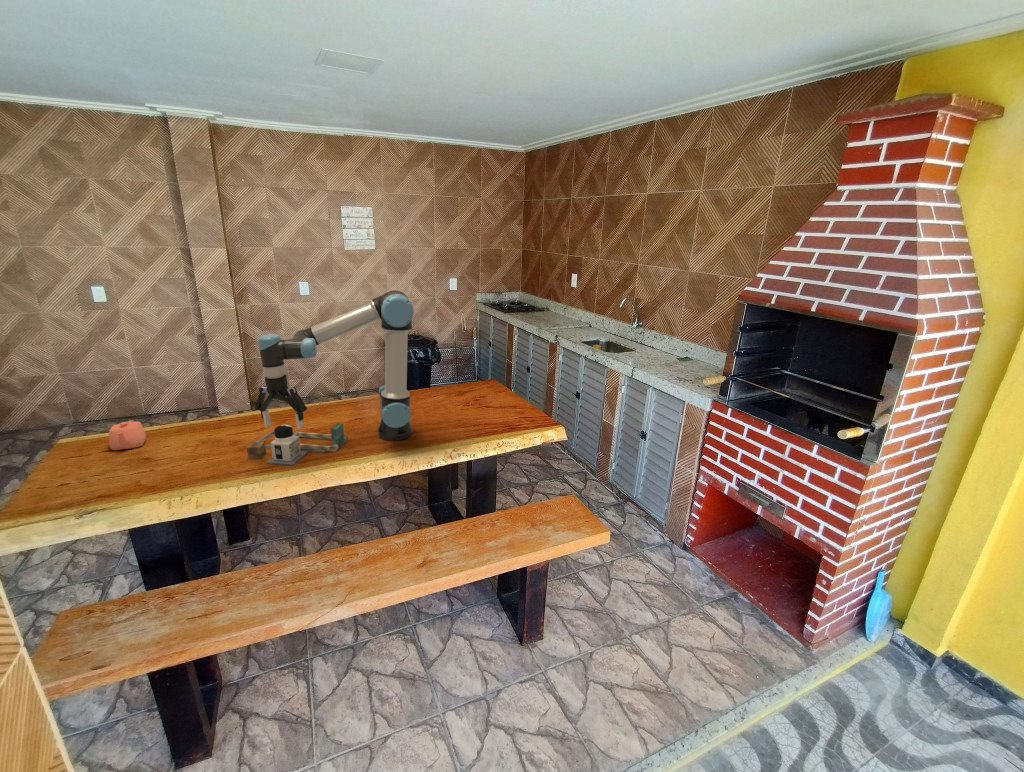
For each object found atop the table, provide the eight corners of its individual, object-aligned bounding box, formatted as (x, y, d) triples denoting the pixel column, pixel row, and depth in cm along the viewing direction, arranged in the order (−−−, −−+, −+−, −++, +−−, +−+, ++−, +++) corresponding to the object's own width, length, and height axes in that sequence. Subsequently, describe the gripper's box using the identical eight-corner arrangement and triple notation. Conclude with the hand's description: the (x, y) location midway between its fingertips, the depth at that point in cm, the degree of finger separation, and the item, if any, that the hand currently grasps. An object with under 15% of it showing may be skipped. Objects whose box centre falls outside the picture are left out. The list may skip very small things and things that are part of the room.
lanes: (339, 438, 216) (339, 435, 215) (324, 452, 203) (323, 450, 202) (272, 433, 220) (272, 430, 219) (252, 446, 206) (252, 444, 206)
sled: (347, 439, 214) (346, 420, 211) (335, 451, 203) (333, 431, 200) (297, 436, 217) (295, 417, 214) (282, 447, 206) (279, 427, 203)
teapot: (150, 435, 215) (144, 413, 212) (141, 452, 200) (135, 429, 196) (118, 440, 210) (111, 417, 207) (106, 458, 195) (99, 434, 192)
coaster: (307, 453, 202) (307, 451, 202) (292, 465, 192) (292, 464, 191) (282, 451, 203) (282, 449, 203) (266, 463, 193) (266, 462, 193)
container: (291, 461, 193) (286, 431, 189) (272, 460, 194) (268, 430, 190) (301, 452, 201) (297, 423, 196) (283, 451, 202) (279, 422, 197)
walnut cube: (266, 452, 202) (264, 441, 200) (261, 458, 197) (259, 447, 195) (253, 453, 201) (251, 442, 199) (248, 459, 196) (246, 447, 195)
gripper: (311, 373, 188) (318, 424, 195) (251, 371, 191) (260, 421, 198) (300, 379, 181) (308, 432, 188) (238, 377, 184) (248, 429, 191)
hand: (284, 426), depth 193 cm, fingers open, 13 cm apart
